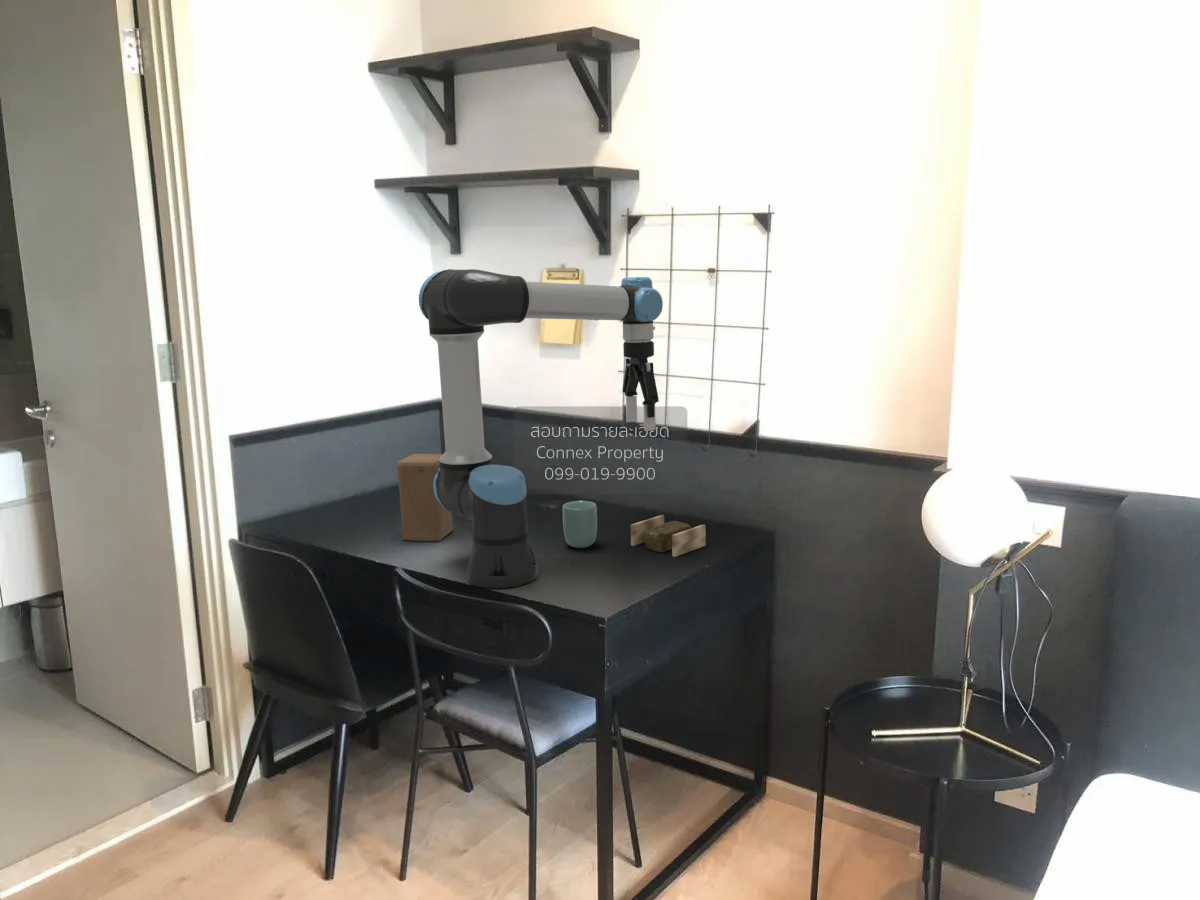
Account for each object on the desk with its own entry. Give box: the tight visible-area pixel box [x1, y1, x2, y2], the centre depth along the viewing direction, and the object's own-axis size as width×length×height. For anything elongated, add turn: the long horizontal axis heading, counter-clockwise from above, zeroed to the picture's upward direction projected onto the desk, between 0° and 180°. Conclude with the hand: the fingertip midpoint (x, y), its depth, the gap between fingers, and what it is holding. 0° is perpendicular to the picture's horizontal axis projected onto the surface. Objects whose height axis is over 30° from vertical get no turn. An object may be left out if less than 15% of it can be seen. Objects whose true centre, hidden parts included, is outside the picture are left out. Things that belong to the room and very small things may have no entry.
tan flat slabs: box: [630, 514, 707, 558], centre depth 214 cm, size 11×14×5 cm
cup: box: [562, 500, 598, 549], centre depth 215 cm, size 8×8×10 cm
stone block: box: [644, 520, 692, 553], centre depth 214 cm, size 6×12×5 cm, turn 136°
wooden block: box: [396, 453, 454, 542], centre depth 226 cm, size 10×10×20 cm
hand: (640, 425), depth 230 cm, fingers open, 13 cm apart
